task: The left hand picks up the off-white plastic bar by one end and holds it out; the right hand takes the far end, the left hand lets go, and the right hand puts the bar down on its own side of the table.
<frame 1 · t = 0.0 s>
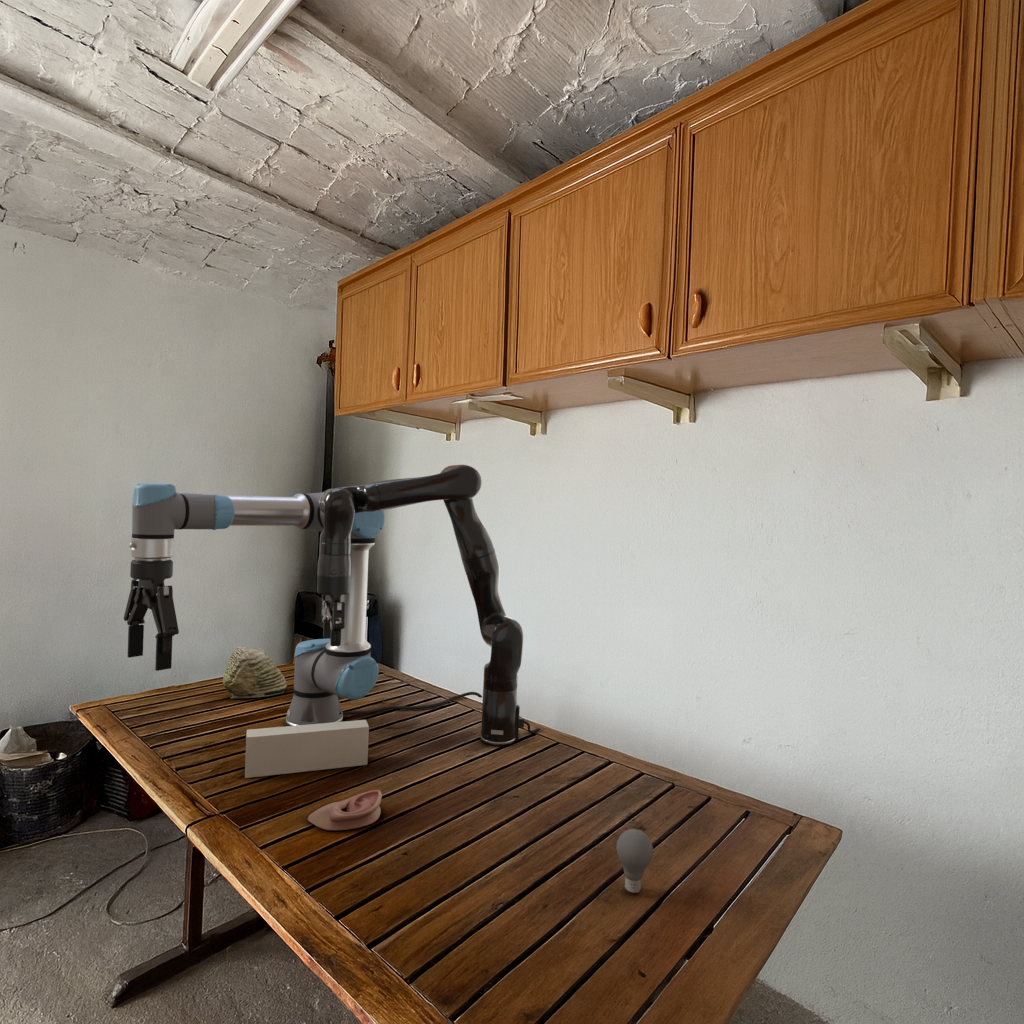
left hand: (148, 662, 129), 28 cm above the table, tool pointing down, fingers open, 13 cm apart
right hand: (331, 642, 149), 29 cm above the table, tool pointing down, fingers open, 8 cm apart
light bulb: (632, 891, 106), on the table
anatomical model: (345, 817, 126), on the table
bar: (307, 766, 148), on the table
fossil: (254, 694, 198), on the table
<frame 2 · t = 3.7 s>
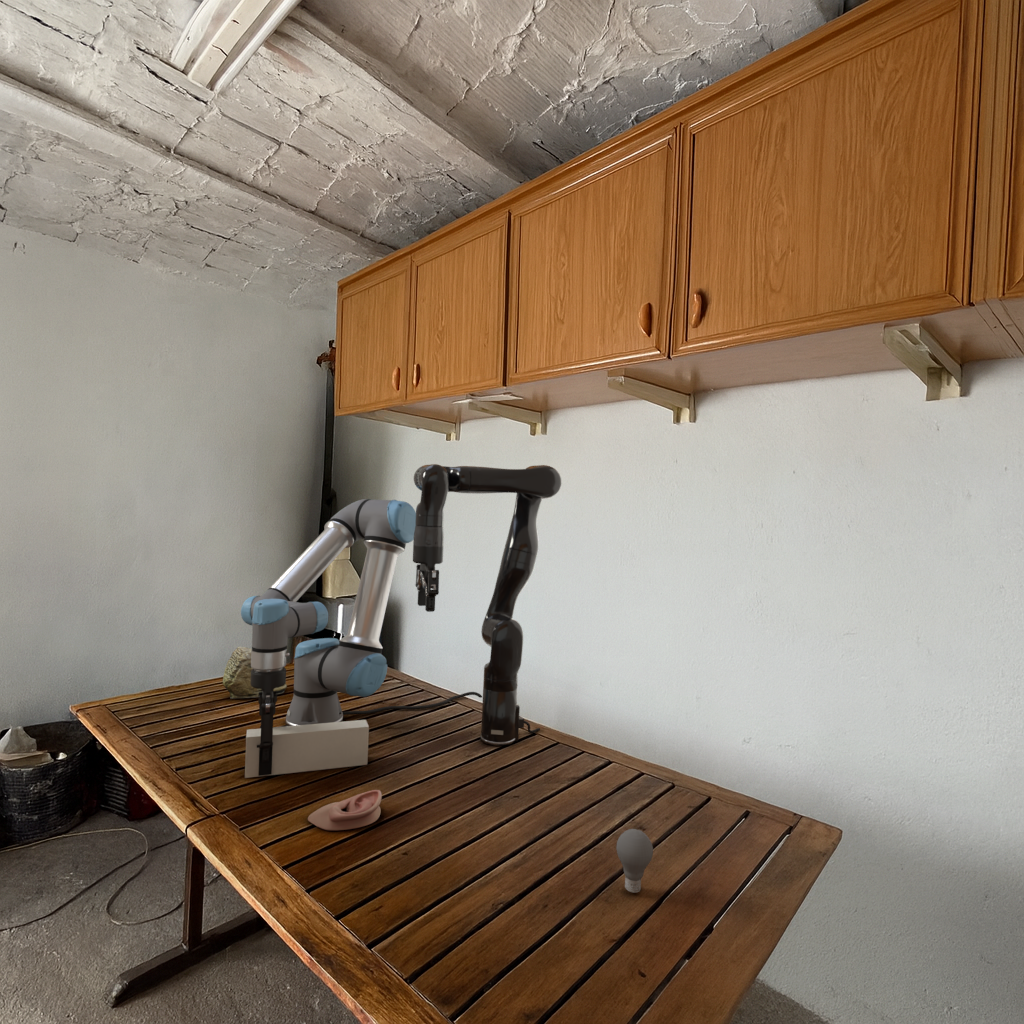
left hand: (265, 768, 145), 1 cm above the table, tool pointing down, fingers closed on bar, 5 cm apart
right hand: (425, 608, 159), 36 cm above the table, tool pointing down, fingers open, 8 cm apart
bar: (307, 766, 148), on the table, touching left hand
everything else where it was.
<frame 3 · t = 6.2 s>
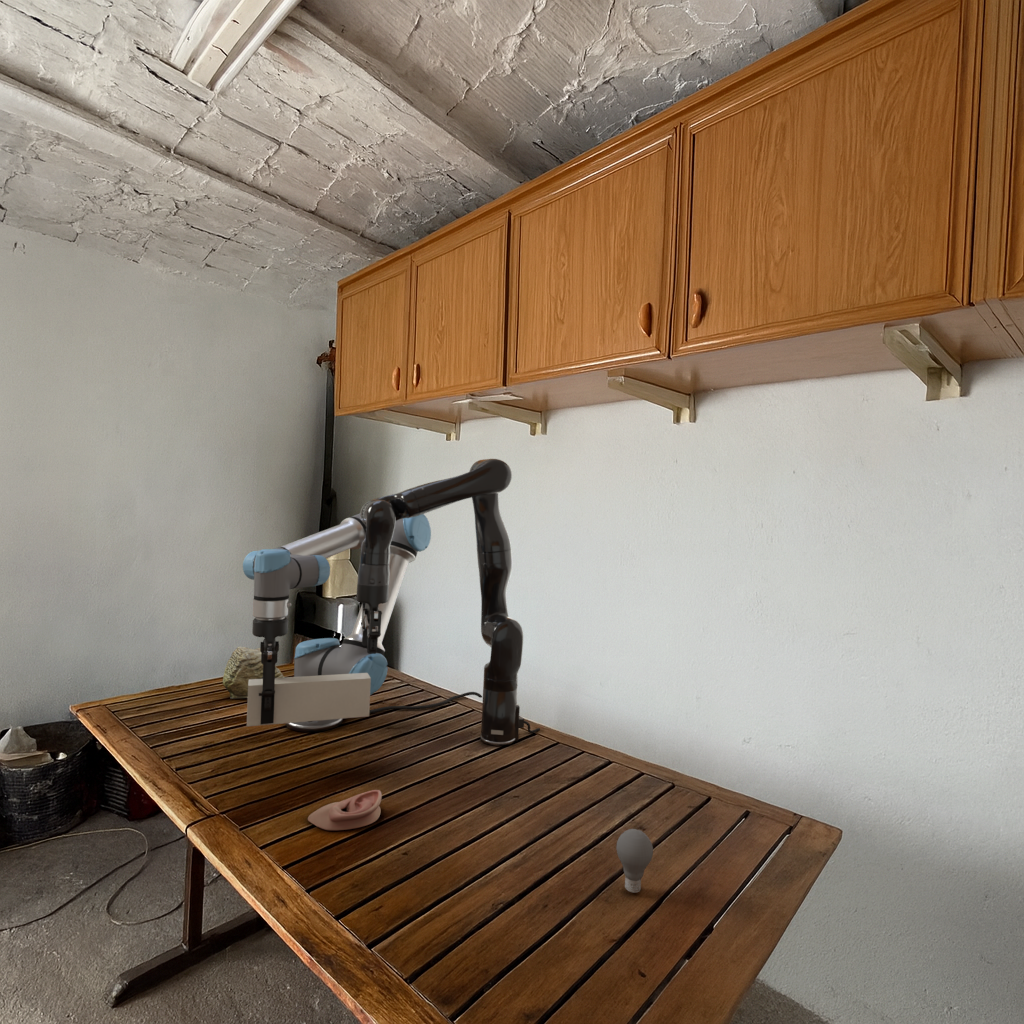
left hand: (266, 718, 145), 12 cm above the table, tool pointing down, fingers closed on bar, 5 cm apart
right hand: (369, 649, 153), 27 cm above the table, tool pointing down, fingers open, 8 cm apart
bar: (309, 717, 148), point 12 cm above the table, touching left hand
everything else where it was.
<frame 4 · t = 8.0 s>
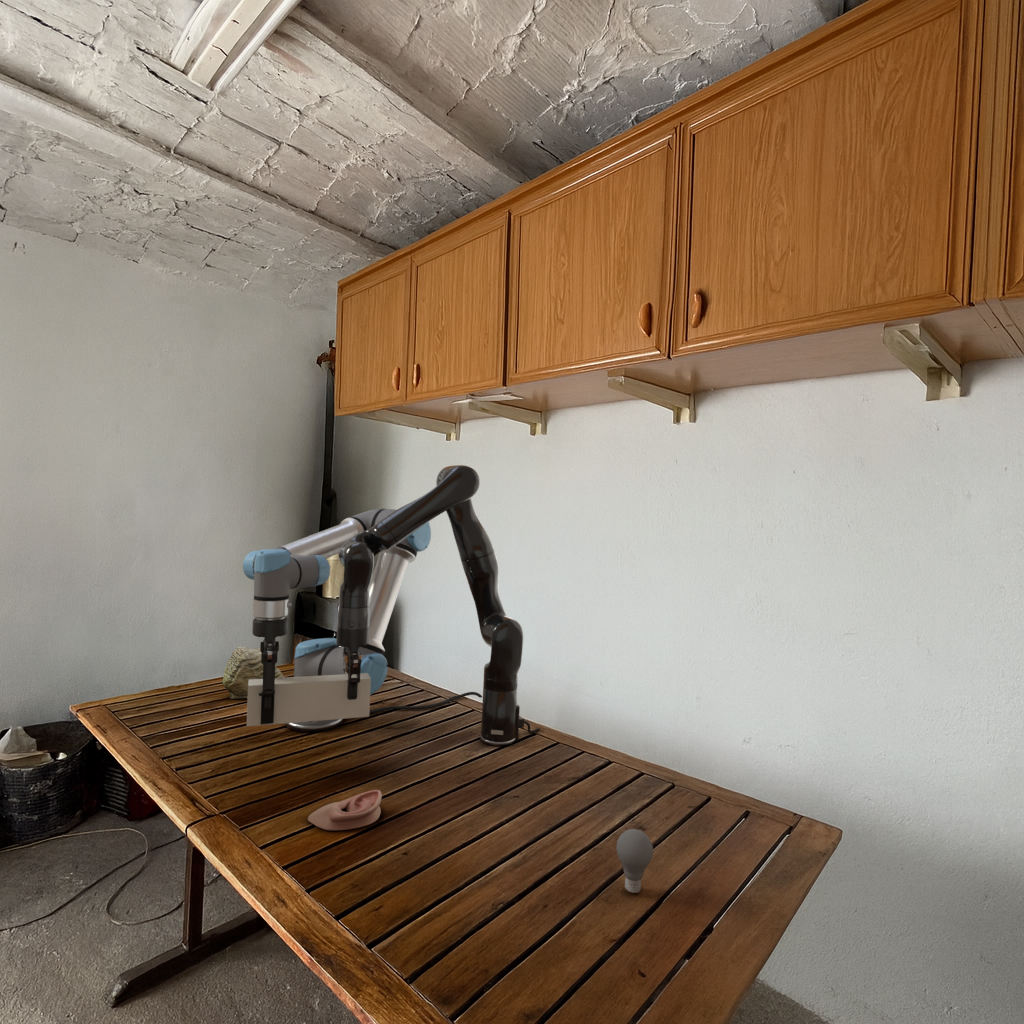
left hand: (266, 718, 144), 12 cm above the table, tool pointing down, fingers closed on bar, 5 cm apart
right hand: (350, 695, 151), 16 cm above the table, tool pointing down, fingers closed on bar, 5 cm apart
bar: (309, 717, 148), point 12 cm above the table, touching left hand, right hand
everything else where it was.
when the left hand's fingers open (12 cm above the table, at t = 8.9 s): bar stays where it is, held by the right hand.
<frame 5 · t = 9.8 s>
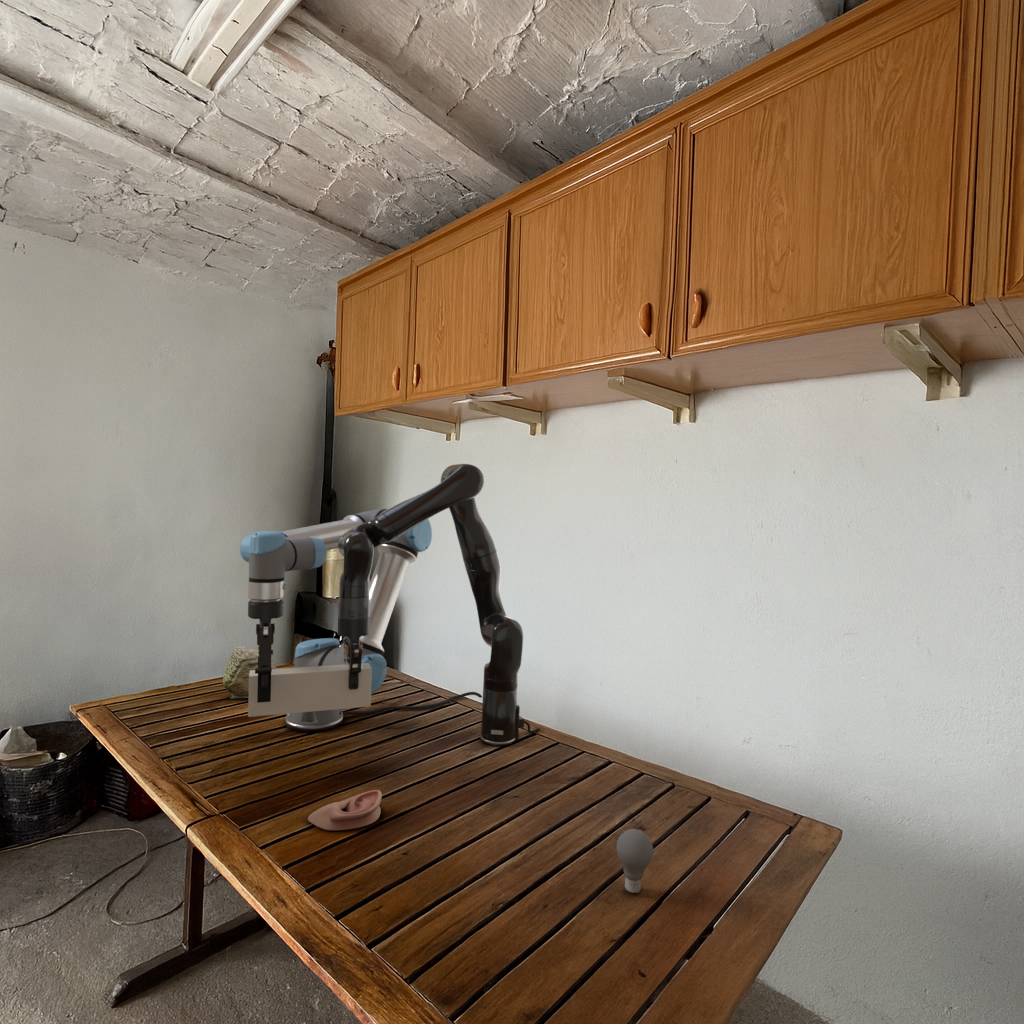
left hand: (263, 692, 144), 18 cm above the table, tool pointing down, fingers open, 13 cm apart
right hand: (351, 685, 151), 19 cm above the table, tool pointing down, fingers closed on bar, 5 cm apart
bar: (310, 708, 148), point 14 cm above the table, touching right hand
everything else where it was.
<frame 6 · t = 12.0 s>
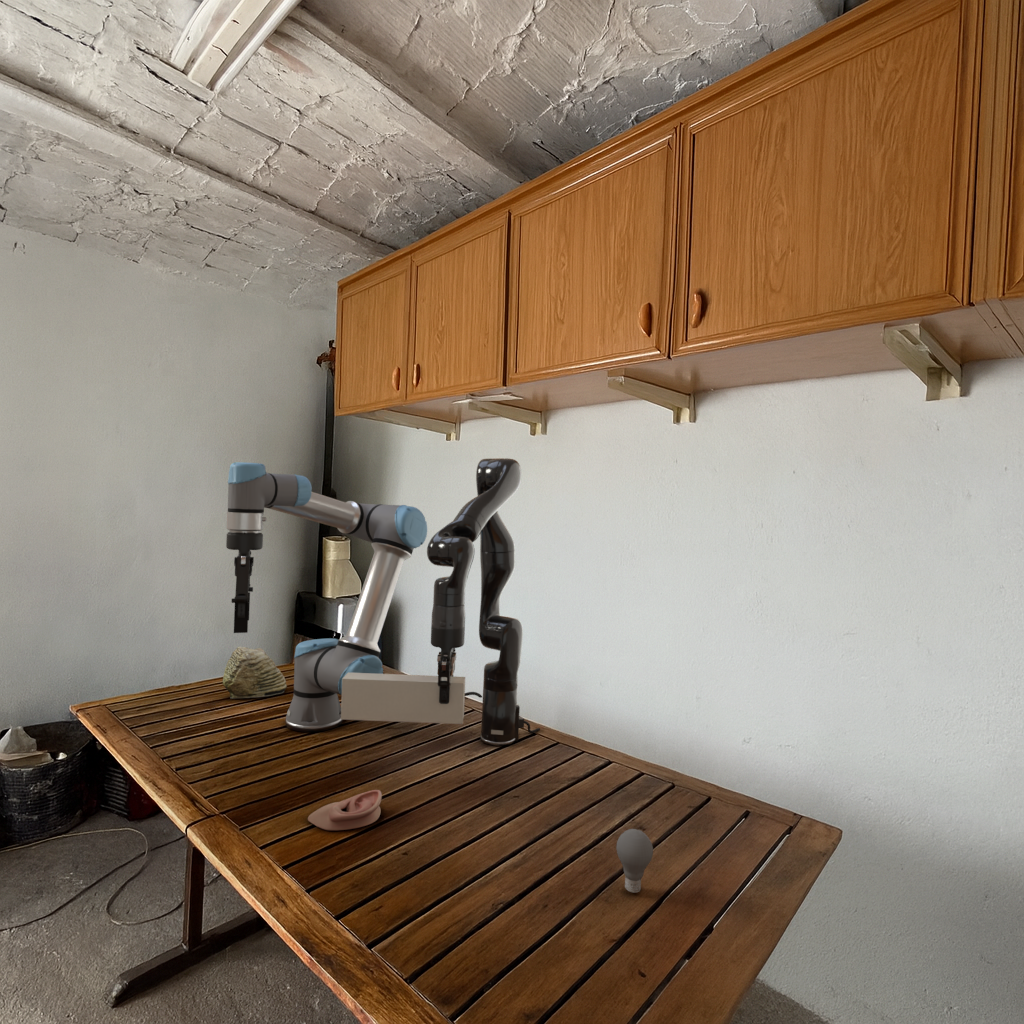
left hand: (241, 626, 142), 33 cm above the table, tool pointing down, fingers open, 13 cm apart
right hand: (445, 698, 143), 19 cm above the table, tool pointing down, fingers closed on bar, 5 cm apart
bar: (403, 718, 143), point 14 cm above the table, touching right hand
everything else where it was.
when the right hand's fingers open (7 cm above the table, at t = 16.2 s): bar drops 2 cm, on the table.
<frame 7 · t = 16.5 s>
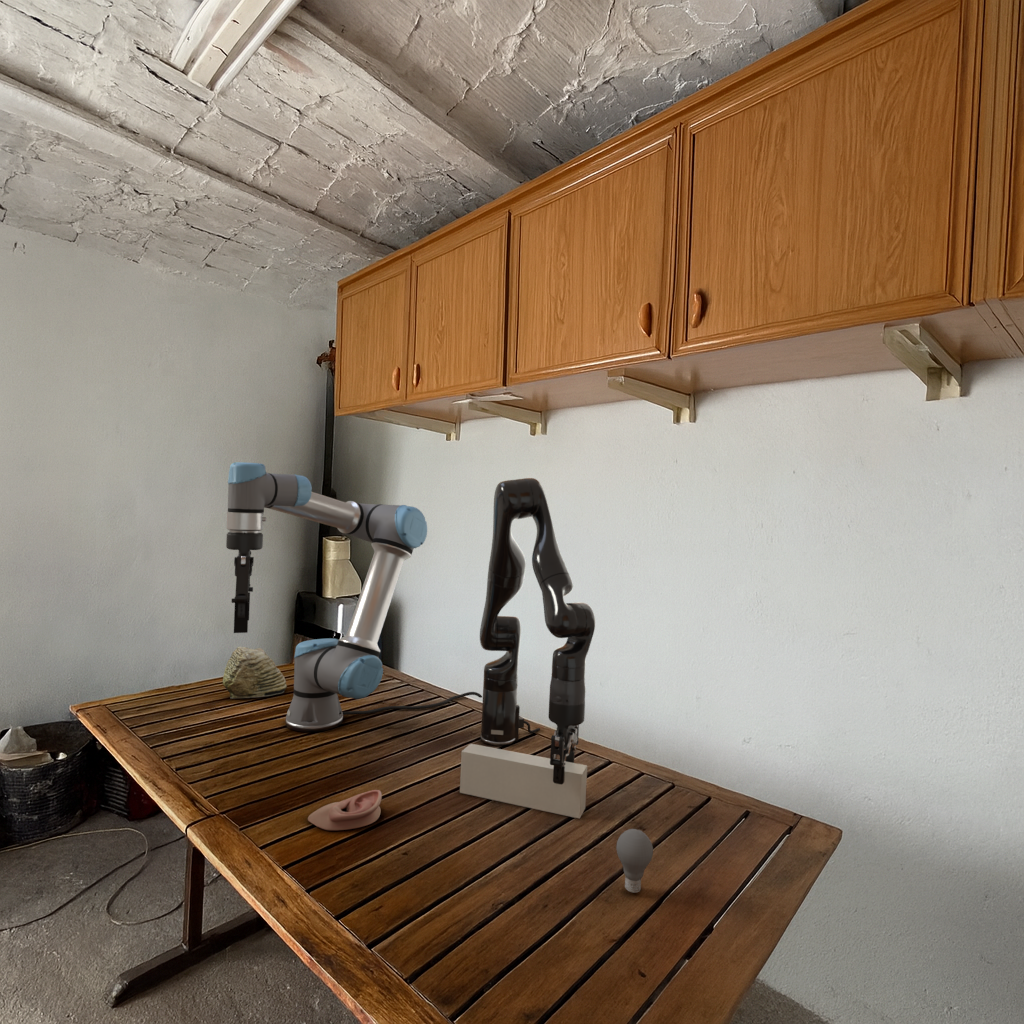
left hand: (241, 626, 142), 33 cm above the table, tool pointing down, fingers open, 13 cm apart
right hand: (563, 775, 133), 7 cm above the table, tool pointing down, fingers open, 7 cm apart
bar: (521, 800, 136), on the table
everything else where it was.
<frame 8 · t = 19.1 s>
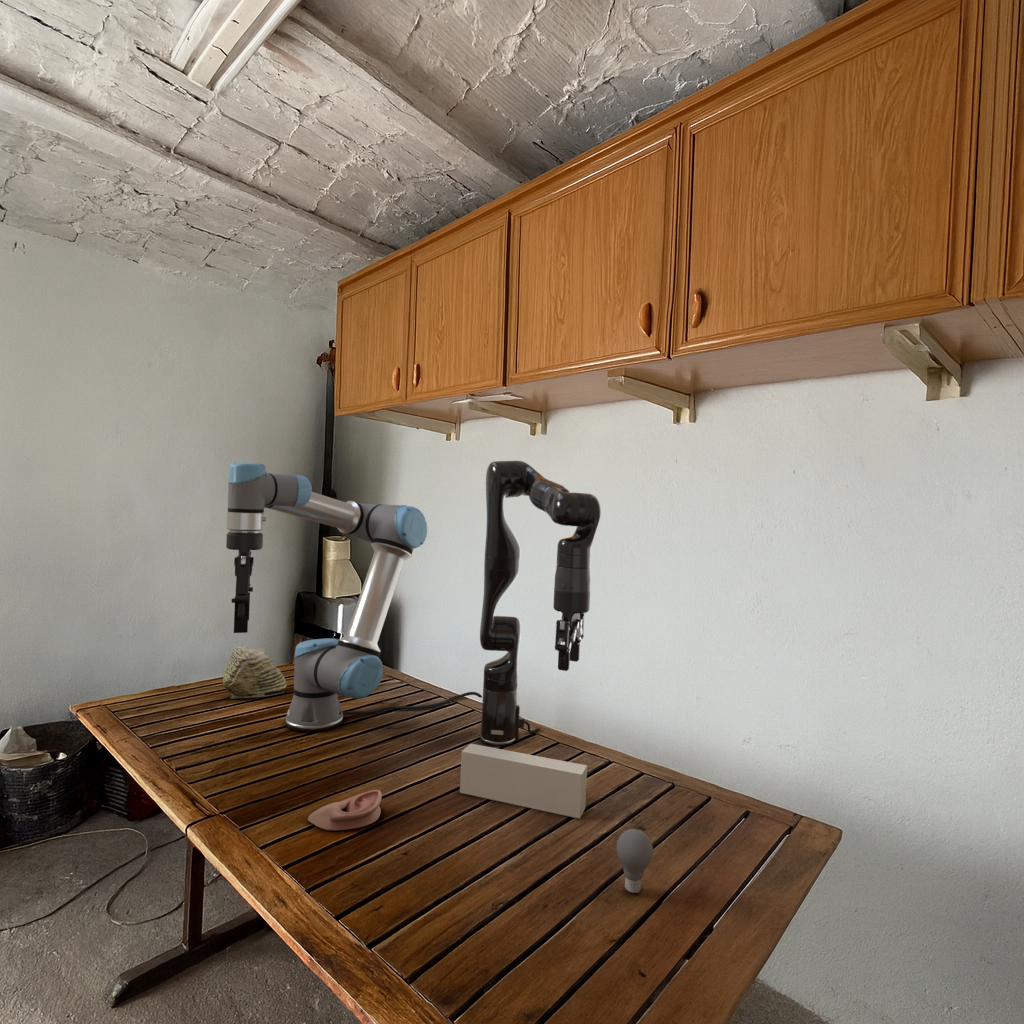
left hand: (241, 626, 142), 33 cm above the table, tool pointing down, fingers open, 13 cm apart
right hand: (568, 665, 132), 30 cm above the table, tool pointing down, fingers open, 8 cm apart
nothing on the table moved.
at the end: bar inside the target area (9.1 cm from its centre), on the table; the left hand is holding nothing; the right hand is holding nothing; bar at rest at the end (0.0 cm/s) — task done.
